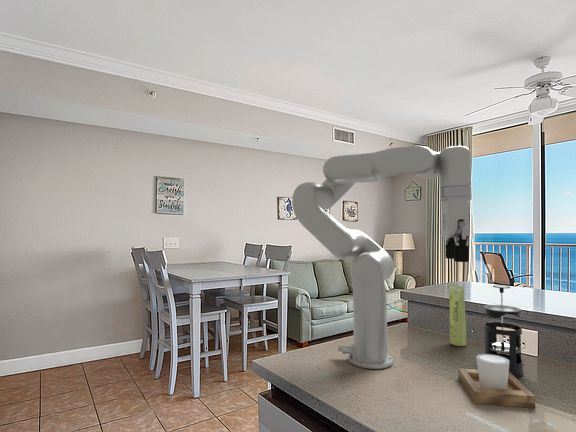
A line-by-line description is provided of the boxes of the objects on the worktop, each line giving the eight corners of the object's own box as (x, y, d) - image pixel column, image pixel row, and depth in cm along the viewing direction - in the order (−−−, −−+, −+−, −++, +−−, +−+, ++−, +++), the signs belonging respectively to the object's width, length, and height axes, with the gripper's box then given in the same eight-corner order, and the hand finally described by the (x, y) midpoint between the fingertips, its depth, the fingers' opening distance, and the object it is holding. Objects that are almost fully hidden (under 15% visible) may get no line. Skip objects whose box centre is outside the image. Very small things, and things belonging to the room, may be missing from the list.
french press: (534, 378, 95) (531, 288, 96) (498, 379, 95) (496, 288, 96) (505, 362, 107) (504, 281, 108) (473, 362, 107) (472, 282, 108)
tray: (474, 403, 82) (474, 391, 82) (458, 378, 96) (458, 368, 96) (535, 408, 80) (535, 396, 80) (509, 381, 93) (509, 371, 94)
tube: (446, 344, 124) (445, 285, 124) (450, 340, 128) (449, 283, 128) (464, 347, 120) (463, 286, 121) (468, 343, 124) (467, 285, 125)
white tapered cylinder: (496, 397, 83) (495, 365, 83) (470, 385, 89) (469, 355, 89) (517, 391, 86) (516, 360, 86) (490, 380, 92) (490, 351, 92)
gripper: (433, 197, 107) (434, 257, 106) (447, 191, 90) (448, 263, 89) (462, 197, 105) (463, 257, 105) (481, 191, 88) (482, 263, 88)
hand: (456, 260), depth 97 cm, fingers open, 9 cm apart
